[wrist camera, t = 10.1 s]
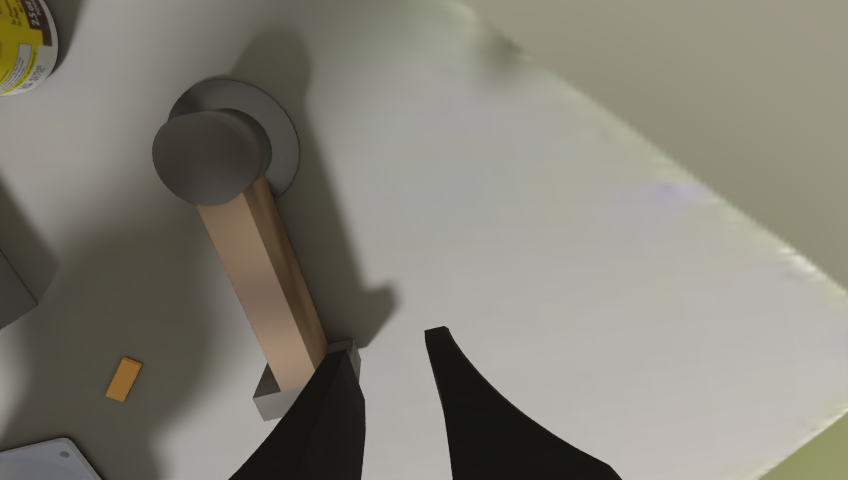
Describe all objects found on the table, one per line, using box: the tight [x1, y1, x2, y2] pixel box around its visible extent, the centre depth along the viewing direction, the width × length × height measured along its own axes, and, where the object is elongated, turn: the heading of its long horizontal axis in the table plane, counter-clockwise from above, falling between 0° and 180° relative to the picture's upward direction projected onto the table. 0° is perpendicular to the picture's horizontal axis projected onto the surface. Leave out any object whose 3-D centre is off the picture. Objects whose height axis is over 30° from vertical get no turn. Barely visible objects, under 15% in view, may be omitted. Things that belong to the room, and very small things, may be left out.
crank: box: [152, 108, 361, 421], centre depth 19 cm, size 15×5×3 cm, turn 12°
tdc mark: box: [105, 357, 142, 402], centre depth 23 cm, size 3×1×1 cm, turn 147°
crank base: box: [167, 80, 300, 199], centre depth 19 cm, size 6×6×1 cm
